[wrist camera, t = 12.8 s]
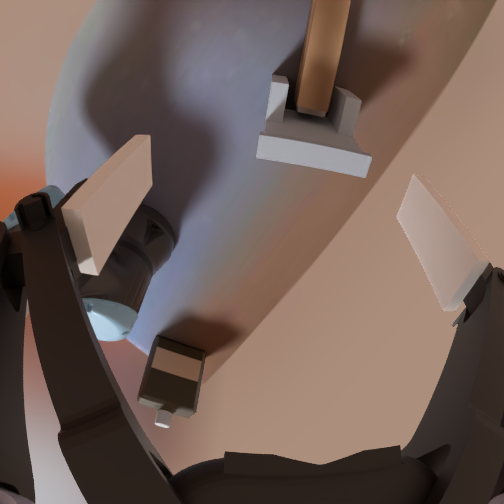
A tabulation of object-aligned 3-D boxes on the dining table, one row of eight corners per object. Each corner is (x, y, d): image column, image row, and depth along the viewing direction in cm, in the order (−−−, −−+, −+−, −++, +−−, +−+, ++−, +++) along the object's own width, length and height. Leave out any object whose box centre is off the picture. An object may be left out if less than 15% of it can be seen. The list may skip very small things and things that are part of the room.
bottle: (200, 361, 89) (187, 435, 70) (151, 345, 86) (131, 419, 67) (208, 351, 84) (194, 430, 65) (156, 333, 81) (133, 412, 62)
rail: (292, 102, 39) (295, 111, 35) (312, -3, 28) (318, -10, 24) (319, 107, 39) (326, 117, 35) (340, 3, 28) (350, -1, 24)
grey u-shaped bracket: (261, 119, 41) (256, 158, 30) (268, 73, 37) (266, 90, 25) (340, 134, 42) (365, 178, 30) (350, 90, 37) (384, 116, 26)
